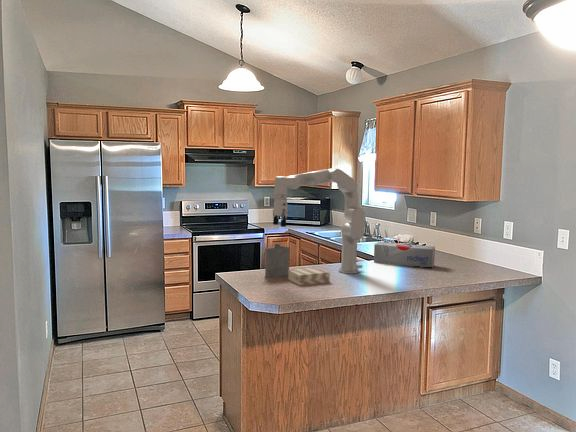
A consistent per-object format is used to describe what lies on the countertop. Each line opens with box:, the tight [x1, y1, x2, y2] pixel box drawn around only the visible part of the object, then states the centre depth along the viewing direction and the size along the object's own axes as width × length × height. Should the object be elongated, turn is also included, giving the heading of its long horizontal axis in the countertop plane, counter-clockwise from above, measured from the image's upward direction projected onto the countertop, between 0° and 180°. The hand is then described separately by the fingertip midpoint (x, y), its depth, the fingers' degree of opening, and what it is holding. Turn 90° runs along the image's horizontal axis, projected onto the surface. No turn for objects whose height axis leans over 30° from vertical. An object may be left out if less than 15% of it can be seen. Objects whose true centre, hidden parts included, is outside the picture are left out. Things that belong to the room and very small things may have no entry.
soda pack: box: [373, 241, 436, 268], centre depth 333 cm, size 41×13×14 cm, turn 66°
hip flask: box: [264, 242, 291, 278], centre depth 287 cm, size 16×4×20 cm, turn 119°
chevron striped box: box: [287, 267, 331, 286], centre depth 278 cm, size 20×14×6 cm
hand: (279, 225), depth 284 cm, fingers open, 9 cm apart
